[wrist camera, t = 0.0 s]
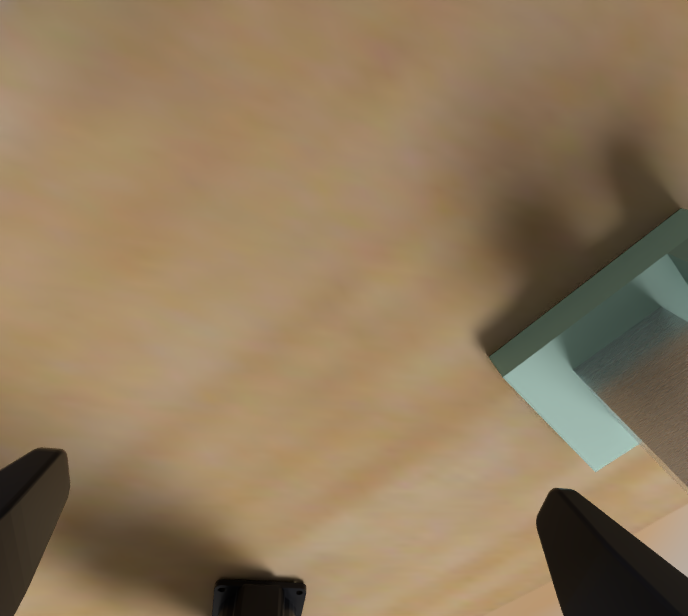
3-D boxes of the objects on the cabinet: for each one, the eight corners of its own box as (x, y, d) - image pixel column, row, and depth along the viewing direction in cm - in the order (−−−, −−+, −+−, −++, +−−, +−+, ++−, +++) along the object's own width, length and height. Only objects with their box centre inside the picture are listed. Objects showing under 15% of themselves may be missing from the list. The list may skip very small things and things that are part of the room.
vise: (577, 448, 28) (654, 547, 22) (488, 357, 25) (550, 444, 19) (753, 330, 25) (900, 406, 19) (681, 208, 22) (832, 251, 16)
